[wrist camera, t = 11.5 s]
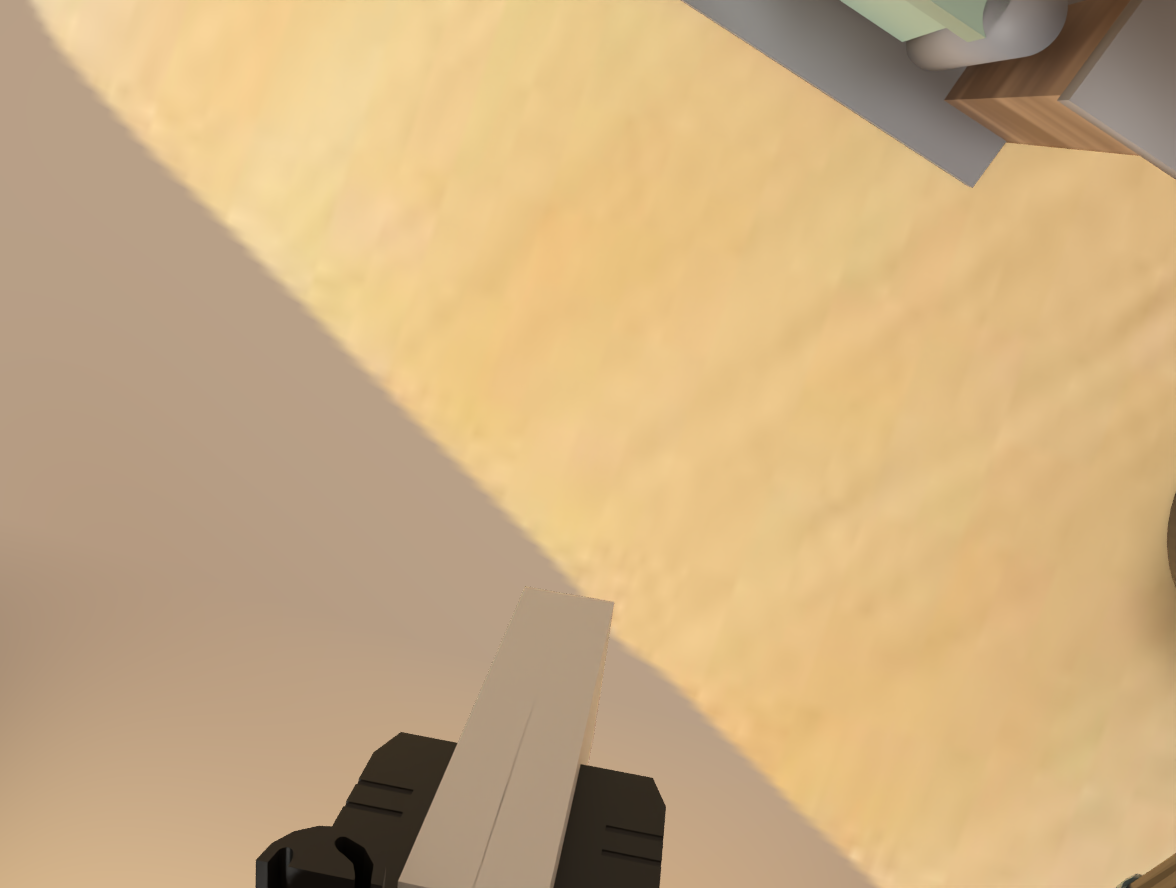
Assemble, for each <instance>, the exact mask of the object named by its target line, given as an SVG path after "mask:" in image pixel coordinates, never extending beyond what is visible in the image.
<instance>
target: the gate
mask: <svg viewBox="0 0 1176 888" xmlns="http://www.w3.org/2000/svg"><path fill="white" fill-rule="evenodd" d="M840 1H842V2H843V3H845V4H846V5H848V6H849V7H851V8H852V9H854V10H855V11H857V12H858V13H860V14H861V15H863V16H864V17H866V18H867V19H868V20H870V21H871V22H873V23H874V24H876V25H877V26H879V27H880V28H882V29H883V30H885V31H886V32H888V33H889V34H891V35H892V36H894V37H895V38H897V39H898V40H900V41H901V42H904V41H906V50H907V54H908V56H909V58H910V60H911V61H912V62H913V63H914V64H915V65H916V66H917V67H919V68H920V69H923V70H926V71H941V70H947V69H953V68H959V67H965V66H971V65H978V64H984V63H990V62H996V61H1002V60H1009V59H1015V58H1021V57H1027V56H1031V55H1034V54H1036V53H1038V52H1040V51H1042V50H1044V49H1045V48H1046V47H1048V46H1049V45H1050V44H1051V43H1052V42H1053V41H1054V40H1055V39H1056V38H1057V36H1058V35H1059V33H1060V32H1061V30H1062V28H1063V26H1064V23H1065V21H1066V17H1067V11H1068V1H1067V0H840Z"/></svg>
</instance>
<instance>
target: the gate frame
mask: <svg viewBox="0 0 1176 888" xmlns="http://www.w3.org/2000/svg"><path fill="white" fill-rule="evenodd" d="M681 1H683V2H684V3H686V4H687V5H689V6H690V7H692V8H694V9H695V10H697V11H698V12H700V13H701V14H703V15H704V16H706V17H707V18H709V19H711V20H712V21H714V22H715V23H717V24H718V25H720V26H721V27H723V28H724V29H726V30H728V31H729V32H731V33H732V34H734V35H735V36H737V37H738V38H740V39H741V40H743V41H744V42H746V43H748V44H749V45H751V46H752V47H754V48H755V49H757V50H758V51H760V52H761V53H763V54H765V55H766V56H768V57H769V58H771V59H772V60H774V61H775V62H777V63H778V64H780V65H782V66H783V67H785V68H786V69H788V70H789V71H791V72H792V73H794V74H795V75H797V76H799V77H800V78H802V79H803V80H805V81H806V82H808V83H809V84H811V85H812V86H814V87H816V88H817V89H819V90H820V91H822V92H823V93H825V94H826V95H828V96H829V97H831V98H833V99H834V100H836V101H837V102H839V103H840V104H842V105H843V106H845V107H846V108H848V109H850V110H851V111H853V112H854V113H856V114H857V115H859V116H860V117H862V118H863V119H865V120H867V121H868V122H870V123H871V124H873V125H874V126H876V127H877V128H879V129H880V130H882V131H883V132H885V133H887V134H888V135H890V136H891V137H893V138H894V139H896V140H897V141H899V142H900V143H902V144H904V145H905V146H907V147H908V148H910V149H911V150H913V151H914V152H916V153H917V154H919V155H921V156H922V157H924V158H925V159H927V160H928V161H930V162H931V163H933V164H934V165H936V166H938V167H939V168H941V169H942V170H944V171H945V172H947V173H948V174H950V175H951V176H953V177H955V178H956V179H958V180H959V181H961V182H962V183H964V184H965V185H967V186H968V187H972V188H973V187H974V185H975V184H976V182H977V181H978V180H979V178H980V177H981V175H982V174H983V173H984V171H985V170H986V169H987V167H988V166H989V164H990V163H991V162H992V160H993V159H994V158H995V156H996V155H997V153H998V152H999V151H1000V149H1001V148H1002V147H1003V145H1004V144H1005V142H1007V143H1017V144H1027V145H1037V146H1047V147H1057V148H1067V149H1077V150H1087V151H1097V152H1107V153H1117V154H1127V155H1137V156H1141V157H1143V158H1144V159H1146V160H1147V161H1149V162H1150V163H1152V164H1153V165H1155V166H1156V167H1158V168H1159V169H1161V170H1162V171H1164V172H1165V173H1167V174H1168V175H1170V176H1171V177H1173V178H1174V179H1176V0H1067V1H1068V11H1067V17H1066V21H1065V23H1064V26H1063V28H1062V30H1061V32H1060V33H1059V35H1058V36H1057V38H1056V39H1055V40H1054V41H1053V42H1052V43H1051V44H1050V45H1049V46H1048V47H1046V48H1045V49H1044V50H1042V51H1040V52H1038V53H1036V54H1034V55H1031V56H1027V57H1021V58H1015V59H1009V60H1002V61H996V62H990V63H984V64H978V65H971V66H965V67H959V68H953V69H947V70H941V71H926V70H923V69H920V68H919V67H917V66H916V65H915V64H914V63H913V62H912V61H911V60H910V58H909V56H908V54H907V50H906V41H904V42H901V41H900V40H898V39H897V38H895V37H894V36H892V35H891V34H889V33H888V32H886V31H885V30H883V29H882V28H880V27H879V26H877V25H876V24H874V23H873V22H871V21H870V20H868V19H867V18H866V17H864V16H863V15H861V14H860V13H858V12H857V11H855V10H854V9H852V8H851V7H849V6H848V5H846V4H845V3H843V2H842V1H840V0H681Z"/></svg>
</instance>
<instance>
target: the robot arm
mask: <svg viewBox="0 0 1176 888" xmlns="http://www.w3.org/2000/svg"><path fill="white" fill-rule="evenodd" d="M1167 549H1168V559H1169V565H1170V570H1171V574H1172V578H1173V581H1174V583H1175V586H1176V494H1175V497H1174V500H1173V504H1172V507H1171V512H1170V517H1169V523H1168V532H1167ZM613 606H614V602H611V601H605V600H600V599H594V598H589V597H583V596H577V595H572V594H566V593H560V592H555V591H548V590H543V589H537V588H532V587H526V586H525V588H524V590H523V593H522V595H521V597H520V599H519V602H518V604H517V607H516V609H515V611H514V613H513V616H512V618H511V620H510V623H509V625H508V627H507V630H506V632H505V634H504V637H503V639H502V641H501V644H500V646H499V648H498V651H497V653H496V655H495V658H494V660H493V662H492V664H491V667H490V669H489V671H488V674H487V676H486V678H485V681H484V683H483V686H482V688H481V690H480V692H479V695H478V697H477V699H476V702H475V704H474V706H473V709H472V711H471V713H470V715H469V718H468V720H467V723H466V725H465V727H464V729H463V732H462V734H461V736H460V739H459V741H458V743H455V742H450V741H445V740H439V739H434V738H429V737H423V736H419V735H413V734H408V733H403V732H401V733H399V734H398V735H397V736H395V737H394V738H393V739H391V740H390V741H388V742H387V743H386V744H384V745H383V746H382V747H380V748H379V749H378V750H376V751H375V752H374V753H373V754H372V756H371V758H370V760H369V762H368V763H367V765H366V767H365V769H364V771H363V773H362V774H361V776H360V778H359V781H358V784H356V785H355V787H354V789H353V790H352V792H351V794H350V796H349V797H348V799H347V801H346V805H345V807H343V808H342V810H341V812H340V814H339V815H338V817H337V819H336V820H335V823H334V824H333V826H332V827H330V826H316V827H312V828H307V829H302V830H298V831H294V832H292V833H290V834H288V835H286V836H284V837H283V838H281V839H279V840H277V841H275V842H273V843H272V844H271V845H270V846H269V847H268V848H267V849H266V850H265V851H264V852H263V853H262V854H261V855H260V856H259V857H258V858H257V860H256V888H659V885H660V873H661V861H662V848H663V836H664V823H665V811H666V806H665V804H664V802H663V799H662V797H661V795H660V793H659V791H658V788H657V786H656V784H655V782H654V780H653V778H650V777H645V776H640V775H635V774H629V773H624V772H619V771H614V770H608V769H603V768H598V767H593V766H588V763H589V758H590V753H591V748H592V743H593V738H594V731H595V725H596V718H597V712H598V705H599V698H600V692H601V685H602V678H603V672H604V665H605V659H606V652H607V646H608V639H609V632H610V626H611V619H612V613H613ZM1116 888H1176V853H1175V854H1173V855H1172V856H1171V857H1169V858H1168V859H1166V860H1165V861H1163V862H1162V863H1161V864H1159V865H1158V866H1156V867H1155V868H1153V869H1152V870H1150V871H1149V872H1147V873H1146V874H1144V875H1140V874H1135V875H1133V876H1131V877H1129V878H1127V879H1126V880H1124V881H1123V882H1122V883H1121V884H1120V885H1118V886H1117V887H1116Z"/></svg>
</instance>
